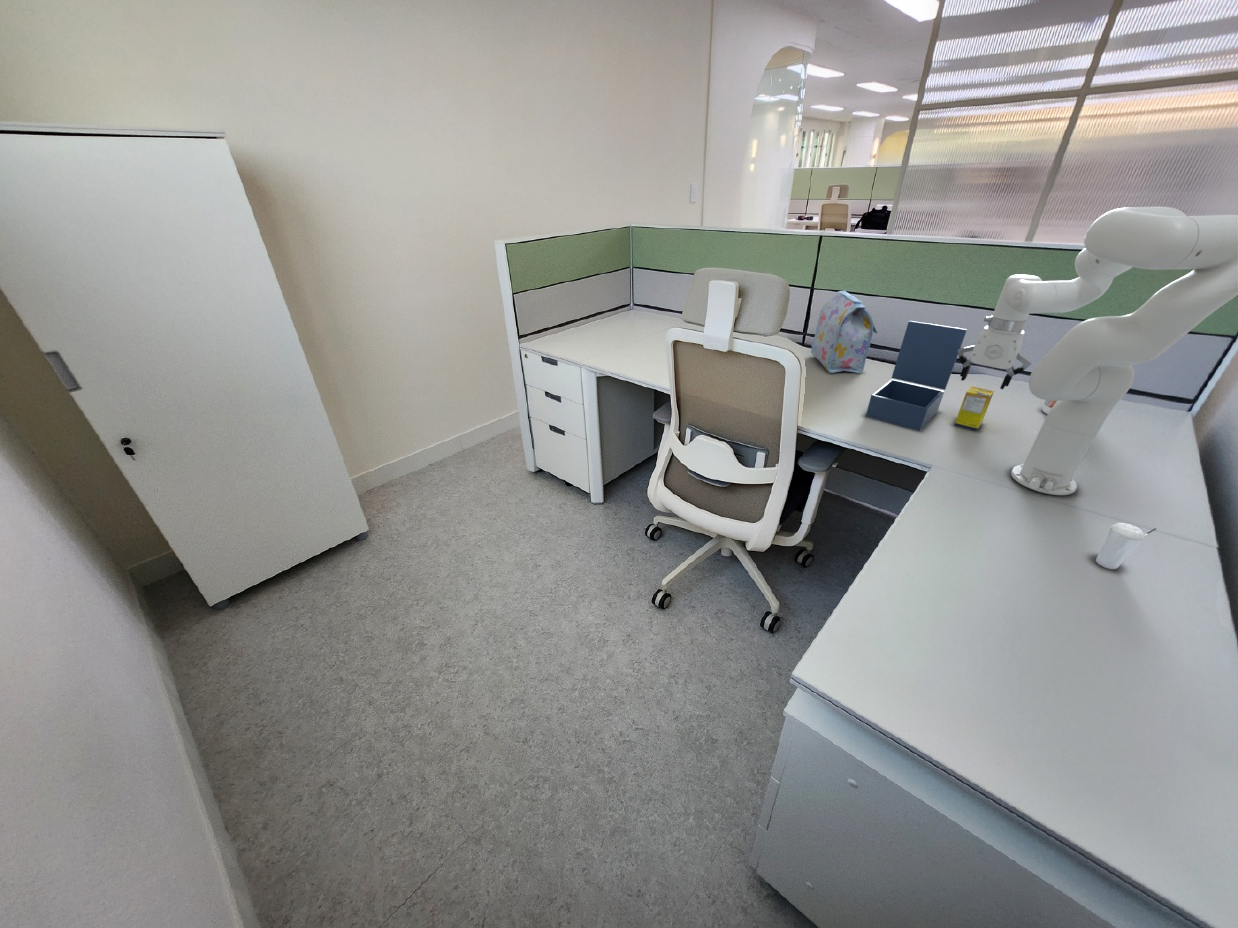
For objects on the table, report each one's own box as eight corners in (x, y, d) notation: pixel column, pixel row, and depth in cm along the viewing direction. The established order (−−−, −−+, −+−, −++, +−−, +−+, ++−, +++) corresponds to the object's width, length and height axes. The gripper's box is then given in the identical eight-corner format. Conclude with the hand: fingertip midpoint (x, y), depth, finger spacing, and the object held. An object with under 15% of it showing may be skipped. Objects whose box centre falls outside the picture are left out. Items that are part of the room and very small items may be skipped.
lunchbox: (919, 431, 142) (927, 408, 138) (865, 416, 151) (871, 395, 148) (937, 412, 152) (944, 390, 149) (885, 399, 162) (891, 379, 158)
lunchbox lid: (966, 329, 139) (970, 327, 143) (908, 321, 149) (913, 318, 152) (944, 389, 148) (949, 386, 152) (891, 378, 158) (896, 374, 161)
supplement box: (981, 424, 145) (994, 390, 139) (976, 431, 141) (990, 396, 135) (958, 418, 148) (971, 385, 143) (953, 425, 144) (966, 391, 139)
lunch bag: (871, 374, 182) (889, 302, 168) (826, 375, 182) (841, 303, 169) (847, 355, 201) (862, 289, 187) (807, 355, 202) (819, 290, 188)
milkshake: (1130, 576, 90) (1159, 535, 85) (1093, 566, 93) (1119, 526, 88) (1124, 562, 94) (1152, 521, 88) (1089, 553, 96) (1114, 513, 91)
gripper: (966, 321, 132) (945, 379, 141) (1044, 333, 122) (1016, 395, 131) (972, 315, 136) (952, 372, 146) (1049, 327, 126) (1021, 387, 135)
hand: (982, 383), depth 138 cm, fingers open, 9 cm apart
